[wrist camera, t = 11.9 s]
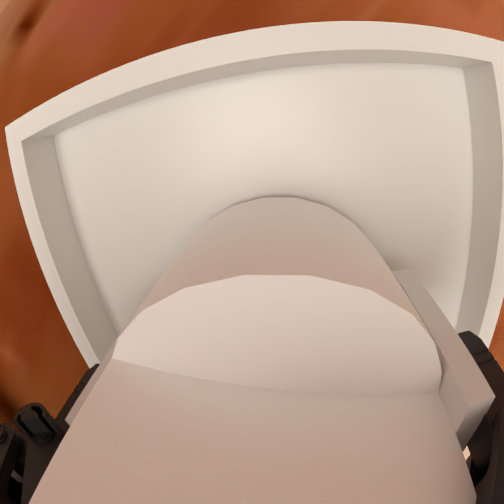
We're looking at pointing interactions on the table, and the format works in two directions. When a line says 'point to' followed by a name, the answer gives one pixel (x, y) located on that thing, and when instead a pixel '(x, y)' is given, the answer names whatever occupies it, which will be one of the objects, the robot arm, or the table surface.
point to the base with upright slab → (267, 379)
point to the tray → (271, 160)
